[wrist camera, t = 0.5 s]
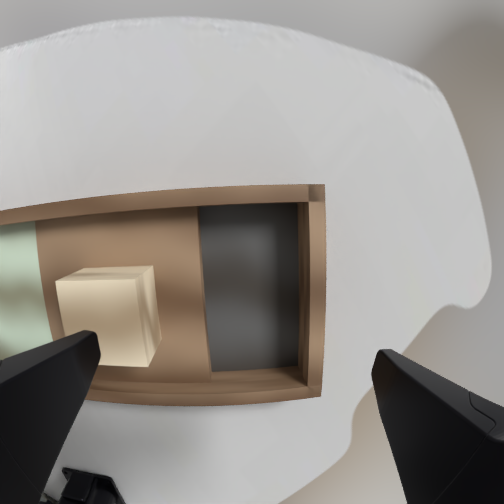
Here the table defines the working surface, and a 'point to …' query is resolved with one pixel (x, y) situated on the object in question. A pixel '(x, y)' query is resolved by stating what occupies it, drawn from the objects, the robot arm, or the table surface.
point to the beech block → (113, 311)
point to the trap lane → (185, 287)
